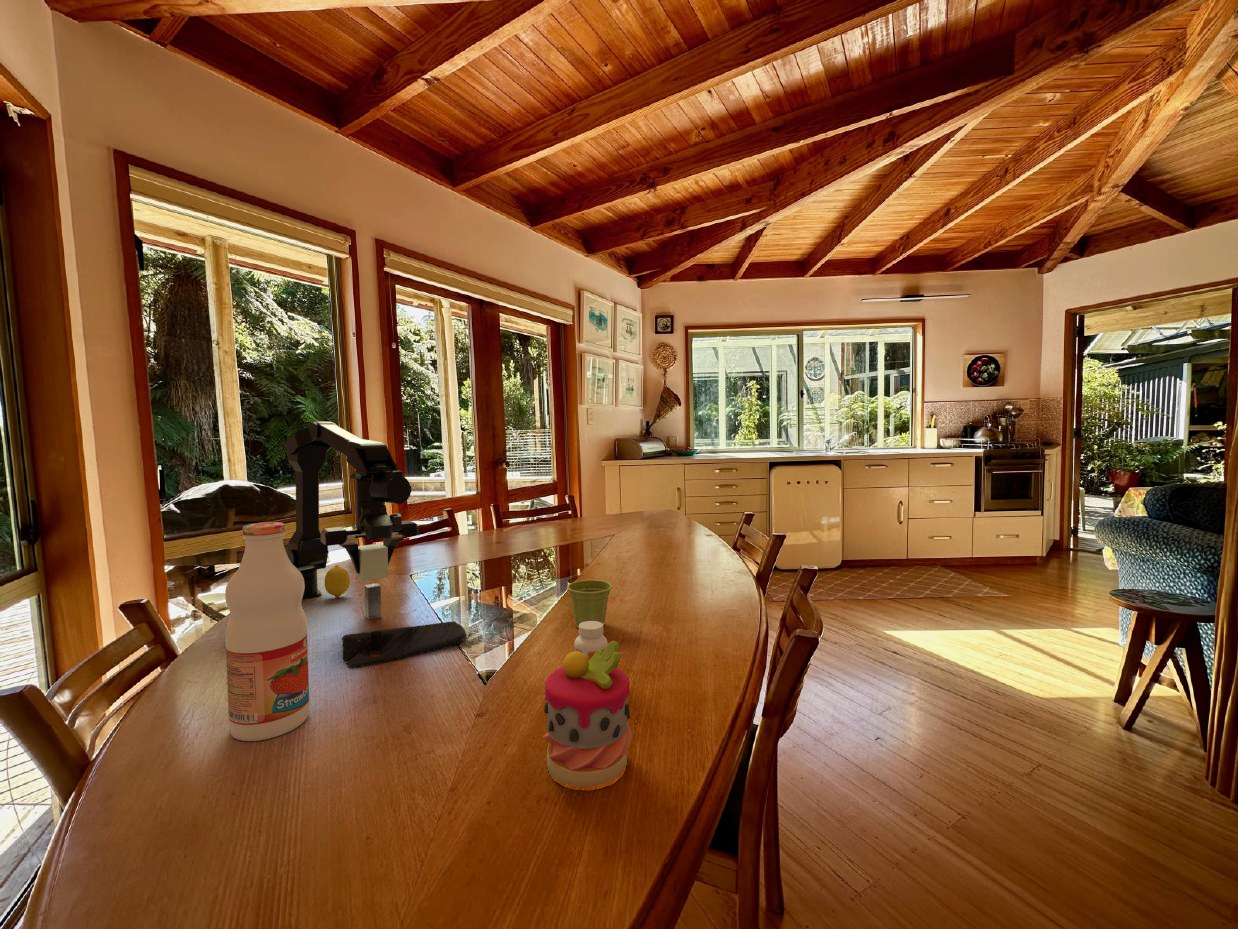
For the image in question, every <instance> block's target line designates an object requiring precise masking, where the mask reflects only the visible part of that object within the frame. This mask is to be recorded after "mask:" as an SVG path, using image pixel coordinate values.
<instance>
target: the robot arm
mask: <svg viewBox="0 0 1238 929" xmlns="http://www.w3.org/2000/svg"><path fill="white" fill-rule="evenodd" d="M284 446H285V447H284V448H285V452H286V454H287V461H288V463H289V464H290V465H291V467H292V468H293V470H294V471H295V532H294V533H293V534H292V536H290V539H289V540H288V542H287V551H286V553H287V555H288V557H289V559H290V561H291V563H292V564H293V565H294V566H295V567H296V568H297V569H298V570H299V571H300V573H301V574H302V576H303V578H304V584H305V589H304V594H303V597H302V599H306V598H307V599H308V598H312V597H319V596H322V592H321V591H320V590H319V588H318V587H319V586H318V570H321V569H326V568H327V564H328V563H327V562H328V557H329V547H328V546H330V547H331V546H337V545H338V546H340V547H341V548H344V549H345V551H346V552H347V554H348V555H349V558H350V560H351V563H352V564H353V568H354V570H355V573H356V572H357V573H358V574H360V563H359V555H358V546H359V543H358V542H356V539H360V538H367V539H368V540H370V541H376V540H378V539H382V540H383V542H382V545H384V546H386V547H388V566H389V564H390V561H391V559H392V556H393V553H394V551H395V549H396V547H397V545H398V544H399V543H400V542H403V541H405V538H408V537H415V536H419V535H420V534H419V532H420V531H419V530H420V529H419V524H417V523H416V522H414V521H411V520H409V519H407V520H402V515H401V513H391V514H390V515H388V512H387V510H388V508H387V505H386V503H389V504H395V505H397V504H398V505H399V504H401V505H402V504H404V503H406V502H407V501H408V500H409V499H410V496H411V493H412V486H411V482H410V481H409V480H408V478H406V477H404V476H403V474H404V473H403V470H399V468H398V465H397V463H396V461H395V460H394V458H393V456H392V454H391V452H390V449H389V448H388V446H387V445H386V443H384V442H381V441H377V440H369V439H365V438H363V439H362V438H360V437H359V436H357V435H354V434H353V433H351V432H349V431H348V430H345V429H344V428H342V427H340V426H339V425H337V424H336V423H335V422H332V421H315V422H311V423H310V424H309V425H308V426H306V427H305V428H303V429H299V430H298V431H296V432H294V433H293V434H292V435H291V436H290V437H289V438H288V439H287V440H286V442H285V445H284ZM332 448H333V449H334V450H337V452H339V453H341V454H343V455H344V456H345V461H346V462H347V464H349V465H350V466H351V467H352V468H353V469H354V470H355V471H354V472H353V473H352V474H351V475H350V479H352V480H354V481H355V504H354V505H355V507H354V508H355V519H356V520H355V521H356V523H355V528H356V529H349V530H347V529H345V528H344V527H342V526H335V527H328V528H323V529H322V530H321V531H320V471H321V469H322V468H323V467H324V465H325V463H326V462H327V458H328V457H327V456H328V452H329V451H330V450H331V449H332Z"/></svg>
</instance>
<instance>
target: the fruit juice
mask: <svg viewBox="0 0 1238 929" xmlns="http://www.w3.org/2000/svg"><path fill="white" fill-rule="evenodd" d="M286 530H287V529H286V524H285V523H284V522H282V521H281V522H279V521H278V522H277V521H272V522H271V521H269V522H268V521H267V522H266V521H265V522H257V523H255V522H254V523H250V524H246V525H243V526H242V529H241V534H242V539H243V540H244V541H245V545H244V546H245V547H244V552H243V554H242V555H243V556H242V558H241V561H240V564H239V567H238V568H237V570H236V571H235V572H234V574H233V575H232V576H231V577H230V579H229V580H228V582H227V584H226V587H225V593H224V599H225V604H226V606H227V608H228V611H229V614H230V616H229V620H228V622H227V624H226V628H225V642H224V643H225V644H224V645H225V654H226V655H225V657H226V658H225V659H226V661H225V662H226V663H225V664H226V680H227V681H226V683H227V684H226V685H227V705H228V706H227V710H228V712H227V713H228V728H229V733H230V735H231V736H232V738H234V739H236V740H239V741H243V742H258V741H264V740H268V739H272V738H277V737H280V736H282V735H284V734H287V733H289V732H291V731H293V730H295V729H298V727H299V726H301V725H302V724H303V723H304V722H305V721H306V720H307V718H308V715H309V713H310V683H309V682H310V681H309V676H310V675H309V651H308V650H309V645H308V623H307V622H308V621H307V615H306V612H305V610H304V609H303V606H302V602H303V598H302V597H303V594H304V589H305V584H304V578H303V576H302V574H301V573H300V571H299V570H298V569H297V568H296V567H295V566H294V565H293V564H292V563H291V561H290V559H289V557H288V555H287V551H286V547H285V544H284V537H285V535H286Z"/></svg>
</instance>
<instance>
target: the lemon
mask: <svg viewBox="0 0 1238 929" xmlns="http://www.w3.org/2000/svg"><path fill="white" fill-rule="evenodd" d="M350 583H351V577H350V574H349V572H348V570H347V569H346V568H344V567H343V566H339V565H335V566H334V567H332V568H330V569H329V570H328V571H327V572H326V574H325V577H324V588H325V591H326V593H328V595H331V596H334V597H335V598H337V599H338V598H340V597H341V596H342V595H343V594H345V593H347V591H348V590H349V587H350V585H351V584H350Z"/></svg>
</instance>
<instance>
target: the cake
mask: <svg viewBox="0 0 1238 929" xmlns="http://www.w3.org/2000/svg"><path fill="white" fill-rule="evenodd" d="M607 644H608V645H607V647H606V648H605V650H604V651H603V650H601V649H599V650H598V651H597V652H596V653H595V654H594V655H593V657H592V658H591V659H590V660H589V661H588V659H587V657H586V655H585V654H583V653H581V652H579V651H571V652H569V653H567V655H566V656H565V657H564V659H563V663H562V666H560V667H559V668H556V669H555V670H554V671H552V672H551V673H550V674H549V675H548V676H547V678H546V679H545V683H544V685H545V686H544V701H546V703H545V705H544V710H543V711H544V712H543V713H544V715H545V714H546V730H547V732H546V733H545V734H544V735H543V736H542V737H541V738H542V739H543V740H544V741H547V742H548V745H547V748H546V756H547V757H546V767H547V766H548V769H547V772H548V771H549V773H550V774H551V776H552V777H553V778H554V779H556V780H558V781H560V782H562V783H563V784H568V785H573V786H583V787H587V786H594V785H598V784H603V783H605V782H607V781H609V780H613V779H614V778H615V777H617V776H618V775H619V774H620V773H622V772H623V770H624V768H625V767H626V765H627V766H628V751H629V749H630V747H631V744H632V743H631V742H632V738H633V733H632V730H631V727H630V724H629V722H628V720H629V719H631V716H630V706H629V704H628V696H630V691H631V690H630V679H629V677H628V675H627V674H626V673H625V671H623V670H622V669H620V668H619V667H618V666H619V665H620V661H621V653H620V652H619V651H620V644H619V642H618V641H615V640H611V641H610V642H608V643H607Z"/></svg>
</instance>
